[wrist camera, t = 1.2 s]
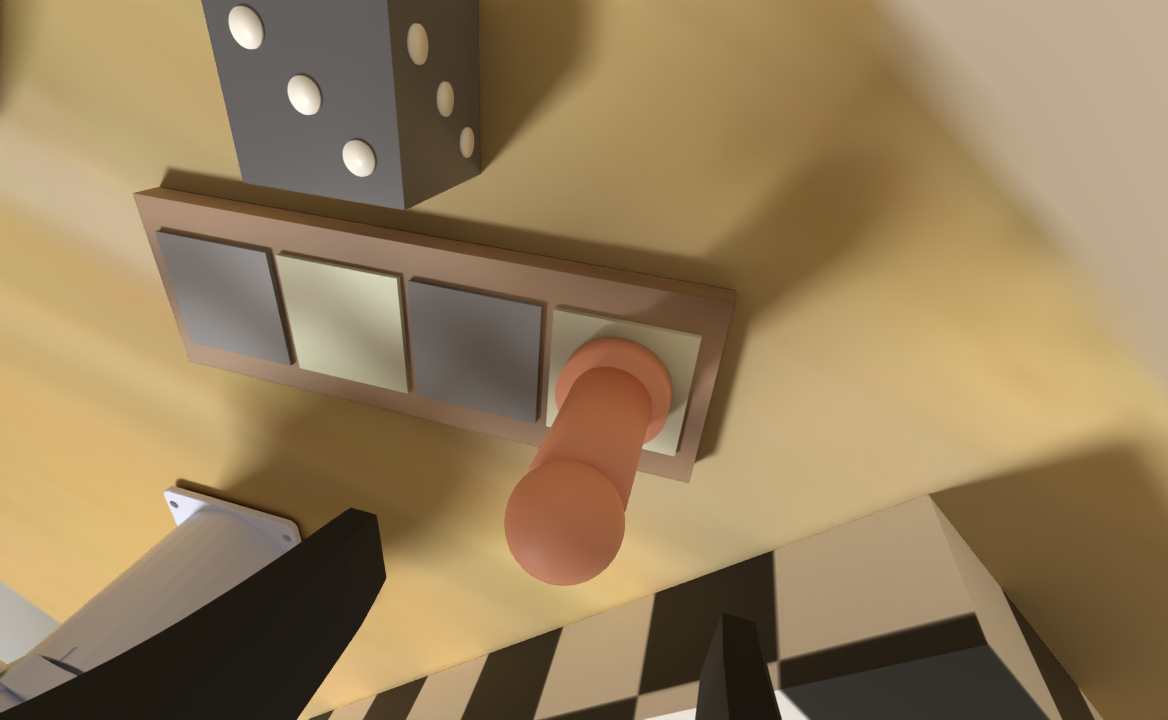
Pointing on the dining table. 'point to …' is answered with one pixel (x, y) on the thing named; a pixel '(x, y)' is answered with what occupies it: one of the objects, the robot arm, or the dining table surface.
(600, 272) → the track board
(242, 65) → the die
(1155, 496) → the dining table surface
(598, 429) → the pawn
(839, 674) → the checkerboard
